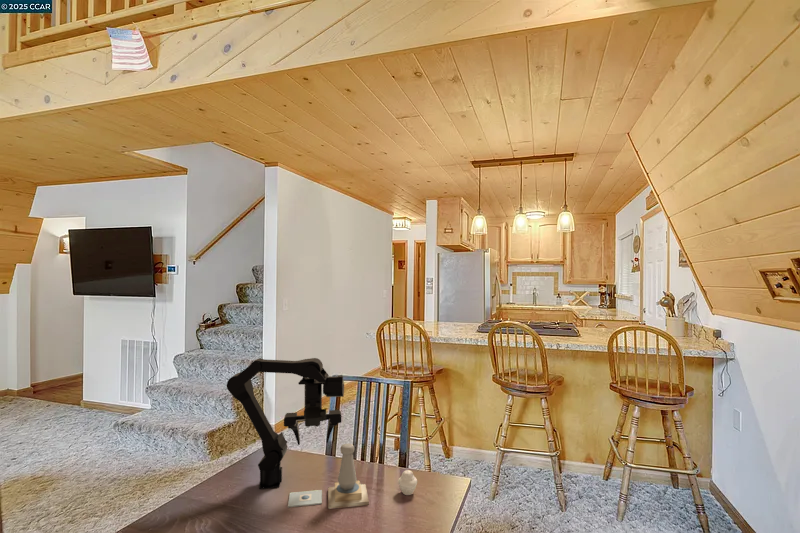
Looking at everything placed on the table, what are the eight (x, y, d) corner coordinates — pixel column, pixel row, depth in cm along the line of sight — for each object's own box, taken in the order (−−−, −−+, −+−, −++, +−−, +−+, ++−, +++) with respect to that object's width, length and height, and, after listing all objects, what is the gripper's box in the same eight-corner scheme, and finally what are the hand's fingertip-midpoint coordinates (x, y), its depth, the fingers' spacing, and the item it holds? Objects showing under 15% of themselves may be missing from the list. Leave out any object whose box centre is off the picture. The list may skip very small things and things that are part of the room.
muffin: (414, 486, 138) (414, 465, 138) (419, 496, 132) (419, 473, 132) (396, 489, 136) (396, 467, 136) (400, 498, 130) (400, 475, 130)
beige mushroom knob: (347, 493, 127) (347, 450, 128) (334, 488, 131) (334, 445, 131) (360, 485, 132) (360, 444, 133) (346, 480, 135) (346, 440, 136)
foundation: (328, 508, 125) (328, 498, 125) (328, 490, 135) (328, 480, 136) (368, 504, 127) (368, 494, 127) (365, 487, 138) (365, 477, 138)
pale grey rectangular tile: (287, 507, 125) (287, 505, 125) (289, 493, 133) (289, 492, 133) (321, 504, 127) (321, 502, 127) (321, 491, 135) (321, 489, 135)
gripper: (282, 405, 132) (282, 455, 131) (342, 402, 135) (342, 451, 135) (285, 395, 143) (285, 442, 142) (340, 393, 146) (340, 438, 146)
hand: (313, 443), depth 141 cm, fingers open, 9 cm apart
